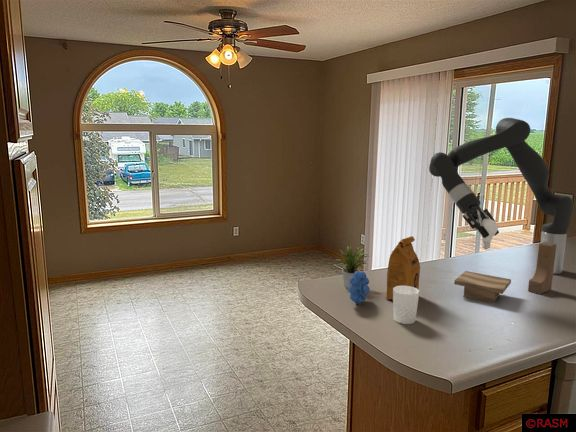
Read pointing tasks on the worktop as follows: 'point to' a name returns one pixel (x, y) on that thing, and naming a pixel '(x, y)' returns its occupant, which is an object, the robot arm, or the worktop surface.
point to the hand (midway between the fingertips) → (491, 235)
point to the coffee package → (403, 267)
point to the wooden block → (543, 269)
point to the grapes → (359, 287)
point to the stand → (482, 285)
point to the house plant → (351, 264)
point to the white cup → (405, 304)
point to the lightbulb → (489, 231)
